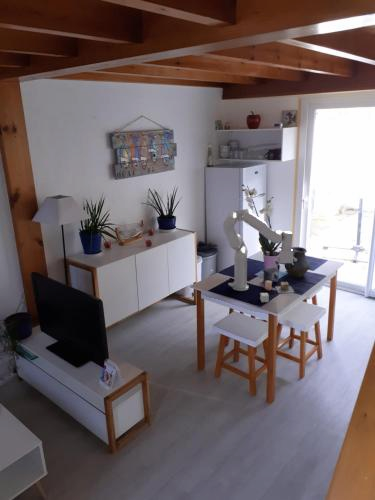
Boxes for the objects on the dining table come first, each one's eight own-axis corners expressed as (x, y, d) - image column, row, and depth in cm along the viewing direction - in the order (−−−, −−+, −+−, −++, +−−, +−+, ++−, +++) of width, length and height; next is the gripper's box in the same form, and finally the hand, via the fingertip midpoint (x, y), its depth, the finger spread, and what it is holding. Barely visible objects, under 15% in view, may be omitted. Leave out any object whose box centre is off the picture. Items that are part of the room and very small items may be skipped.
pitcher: (313, 274, 342) (315, 246, 334) (303, 283, 326) (304, 253, 318) (289, 269, 354) (291, 242, 346) (279, 277, 337) (280, 249, 329)
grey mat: (278, 293, 309) (278, 292, 309) (275, 287, 320) (275, 286, 320) (294, 292, 309) (294, 292, 309) (290, 286, 321) (290, 285, 320)
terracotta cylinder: (265, 290, 315) (265, 283, 313) (264, 287, 320) (264, 280, 318) (272, 290, 315) (272, 282, 313) (270, 287, 320) (271, 280, 318)
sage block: (261, 302, 296) (261, 296, 295) (260, 299, 301) (260, 293, 299) (268, 302, 296) (268, 295, 295) (267, 299, 301) (267, 292, 299)
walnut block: (281, 290, 312) (282, 284, 311) (280, 288, 317) (280, 282, 315) (288, 290, 312) (288, 284, 311) (286, 287, 317) (287, 281, 315)
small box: (266, 284, 327) (267, 271, 323) (263, 281, 333) (263, 268, 329) (278, 282, 329) (279, 270, 326) (274, 279, 335) (275, 267, 332)
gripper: (276, 249, 300) (274, 271, 306) (299, 249, 301) (297, 271, 306) (273, 246, 307) (272, 267, 313) (296, 246, 308) (294, 267, 313)
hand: (284, 269), depth 310 cm, fingers open, 9 cm apart
